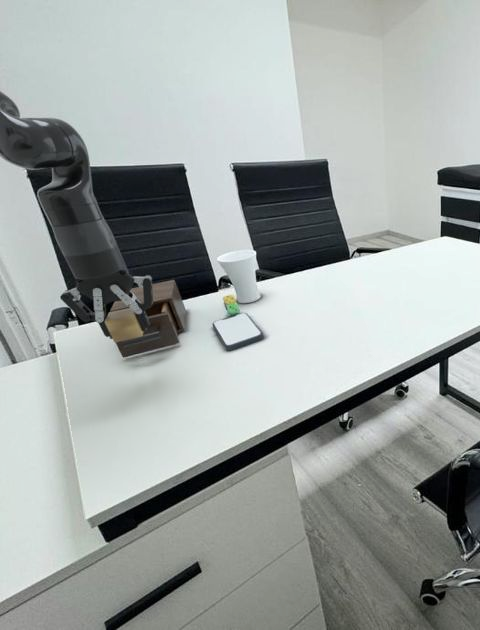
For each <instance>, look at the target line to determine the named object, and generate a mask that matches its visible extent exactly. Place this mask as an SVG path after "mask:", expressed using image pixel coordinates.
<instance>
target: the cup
mask: <svg viewBox="0 0 480 630" xmlns="http://www.w3.org/2000/svg"><path fill="white" fill-rule="evenodd" d="M216 261H217V262H218V264H219V265H220V267H221V268H222V269H223V271H224V273H226V275H227V277H228V279H229V281H230V282H231V284H232V286H233V288H234V291H235V295H236V299H237V300H236V301H237V303H239V304H248V303H249V304H250V303H253V302H255V301H258V300H259V299H261V297H262V296H261V293H260V290H259V288H258V284H257V283H258V282H257V277H256V276H257V275H256V264H257V251H256V250H253V249H239V250H234V251H230V252H226V253H223V254H221V255H219V256H218V257H216Z"/></svg>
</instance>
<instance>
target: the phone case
mask: <svg viewBox="0 0 480 630" xmlns="http://www.w3.org/2000/svg"><path fill="white" fill-rule="evenodd" d="M239 313H240V314H237V315H233V316H230V317H229V316H227V317H223V318H220V319H217V320H214V321H213V322H212V324H211V325H212V328H213V329H214V332H215V334H216V335H217V337H218V338H219V340H220V342H221V344H222V345H223V347H224V348H225V350H226V351H234V350H236V349H239V348H242V347H245V346H248V345H250V344H254V343H256V342H259V341H262V340H263V339H264V333H263V331H262V329H260V328H259V326H258V325H257V324H256V323H255V321H254V320H253V319H252V318H251V316H250V315H249V314H248V313H247V312H239Z"/></svg>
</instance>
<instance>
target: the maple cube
mask: <svg viewBox="0 0 480 630" xmlns="http://www.w3.org/2000/svg"><path fill="white" fill-rule="evenodd" d="M135 314H136V313H135V312H134V311H133V310H132V309H131V308H127V309H123V310H118V311H113V312H110V311H109V312H108V313H107V314H106V316H107V317H106V319H105V321H104V322H105V324H106V326H107V328H108V330H109V332H110V334H111V336H112V338H113V339H112V340H113V342H114V343H115V342H119V341H124V340H128V339H132V338H136V337H140V336H143V332H144V331H142V330H141V327H140V325H139V323H138V321H137V318H136V316H135Z"/></svg>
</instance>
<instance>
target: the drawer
mask: <svg viewBox="0 0 480 630" xmlns="http://www.w3.org/2000/svg"><path fill="white" fill-rule="evenodd" d="M145 312H146V315H147V317H148V319H149V322H150V323H149V327H148V328H147V331H144V332H143V336H140V337H136V338H132V339H128V340H124V341H119V342H114V343H115V344H116V347H117V349H118V350H119V351H118V352H119V353H120V355H121V357H122V358H128V357H131V356H136V355H140V354H143V353H147V352H150V351H151V352H152V351H154V350H159V349H163V348H166V347H170V346H173V345H177V344H180V343H181V341H180V338H179V336H178V333H177V328H178V323H177V320H176V318H175V315H174V313H173V310H172V308H171V305H170V303H169V301H168V302H163V303H159V304H154V305H152V307H151V308H150V309H147V310H145Z"/></svg>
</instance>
